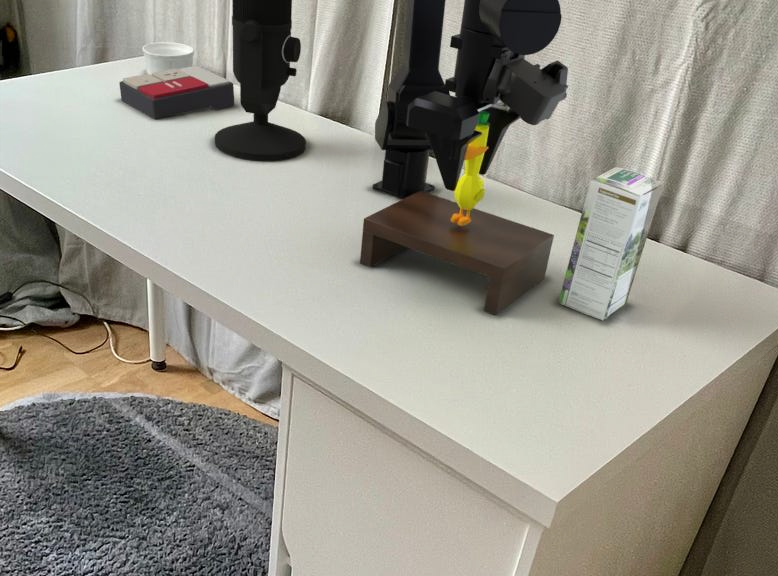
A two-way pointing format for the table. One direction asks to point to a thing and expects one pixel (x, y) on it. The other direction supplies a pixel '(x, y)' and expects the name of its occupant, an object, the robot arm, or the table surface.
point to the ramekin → (167, 56)
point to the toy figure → (472, 173)
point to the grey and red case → (177, 91)
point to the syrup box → (609, 241)
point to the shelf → (461, 244)
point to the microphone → (262, 80)
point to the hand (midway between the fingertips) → (465, 181)
